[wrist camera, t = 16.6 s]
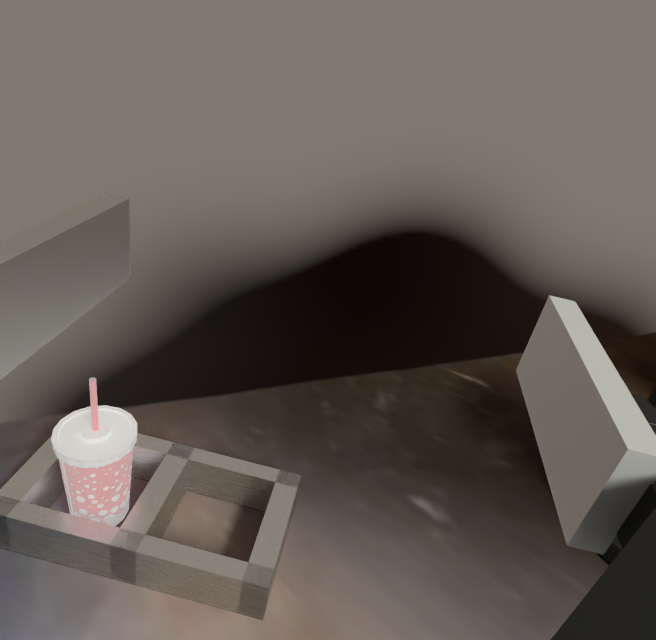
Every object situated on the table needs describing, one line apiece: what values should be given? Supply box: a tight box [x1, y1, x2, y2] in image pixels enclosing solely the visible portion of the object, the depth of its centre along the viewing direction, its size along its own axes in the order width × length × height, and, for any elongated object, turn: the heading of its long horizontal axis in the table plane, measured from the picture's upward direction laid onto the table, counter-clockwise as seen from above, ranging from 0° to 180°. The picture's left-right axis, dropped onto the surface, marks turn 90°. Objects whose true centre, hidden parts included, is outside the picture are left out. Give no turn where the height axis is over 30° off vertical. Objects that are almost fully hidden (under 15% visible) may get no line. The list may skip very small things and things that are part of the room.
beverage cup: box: [51, 377, 137, 526], centre depth 40 cm, size 6×6×14 cm
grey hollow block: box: [0, 433, 301, 620], centre depth 43 cm, size 22×11×4 cm, turn 81°
